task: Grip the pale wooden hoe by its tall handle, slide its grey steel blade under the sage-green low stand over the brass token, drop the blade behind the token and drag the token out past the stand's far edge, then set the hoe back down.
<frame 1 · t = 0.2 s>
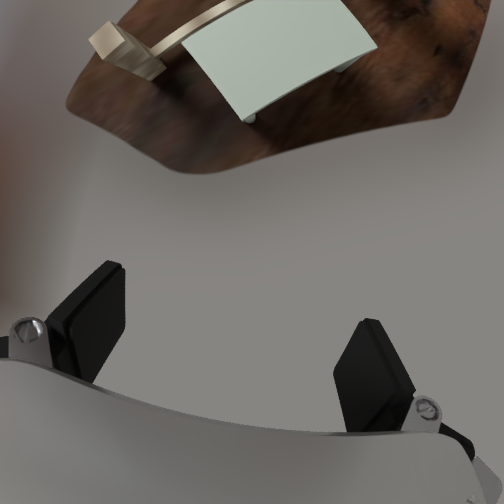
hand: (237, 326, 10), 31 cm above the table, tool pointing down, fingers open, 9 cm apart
hoe: (152, 66, 32), on the table
stand: (276, 64, 32), on the table
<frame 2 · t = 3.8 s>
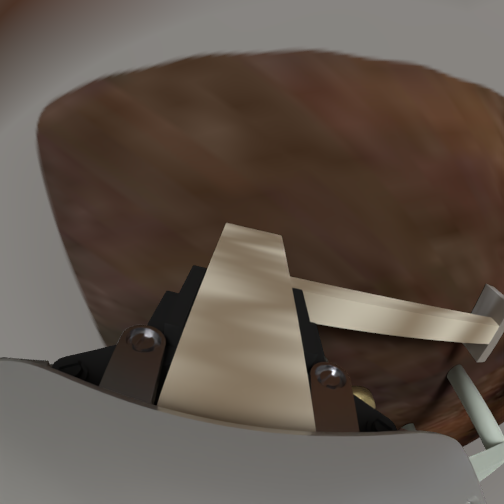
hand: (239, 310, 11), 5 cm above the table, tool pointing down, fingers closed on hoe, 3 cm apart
hoe: (245, 262, 16), on the table, touching gripper
token: (343, 402, 21), on the table
stand: (372, 405, 21), on the table
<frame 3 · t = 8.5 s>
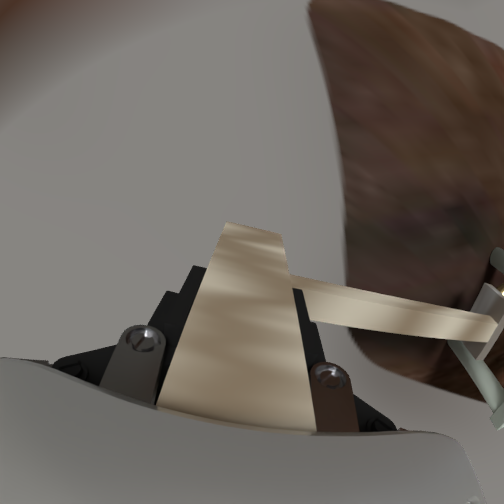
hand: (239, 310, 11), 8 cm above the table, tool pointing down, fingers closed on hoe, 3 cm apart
hoe: (245, 261, 16), point 3 cm above the table, touching gripper
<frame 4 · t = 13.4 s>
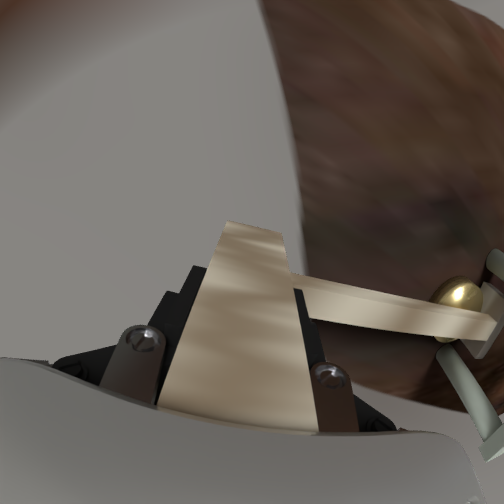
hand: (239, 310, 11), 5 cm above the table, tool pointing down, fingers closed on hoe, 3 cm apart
hoe: (246, 259, 16), on the table, touching gripper
token: (450, 304, 17), on the table
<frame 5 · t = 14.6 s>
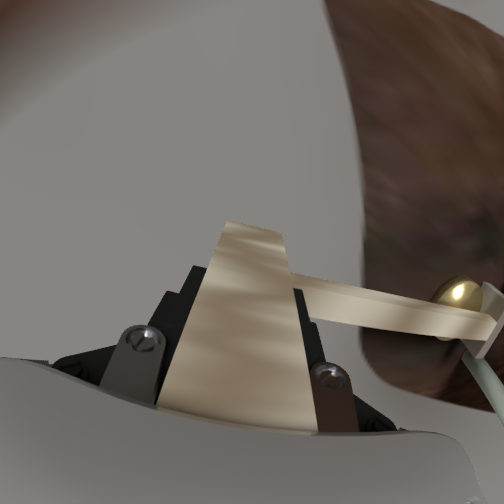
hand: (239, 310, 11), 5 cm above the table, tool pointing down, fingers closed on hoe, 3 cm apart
hoe: (246, 259, 16), on the table, touching gripper
token: (450, 303, 17), on the table
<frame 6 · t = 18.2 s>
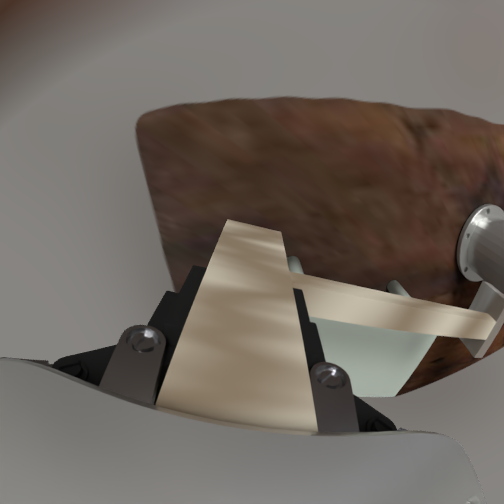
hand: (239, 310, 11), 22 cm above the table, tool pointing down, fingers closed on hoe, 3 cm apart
hoe: (246, 258, 16), point 17 cm above the table, touching gripper
stand: (334, 304, 37), on the table
when the fingers open (6 cm above the table, at t = 21.7 s): hoe stays where it is, on the table.
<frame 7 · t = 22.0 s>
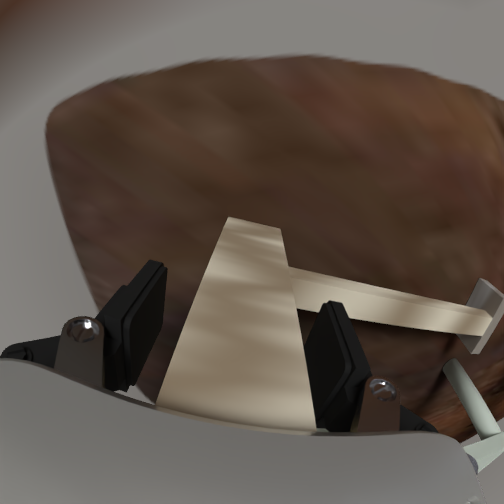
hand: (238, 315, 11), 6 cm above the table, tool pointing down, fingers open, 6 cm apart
hoe: (246, 254, 17), on the table
stand: (369, 397, 21), on the table
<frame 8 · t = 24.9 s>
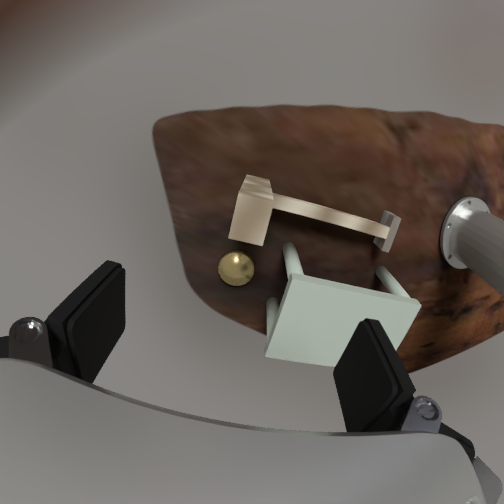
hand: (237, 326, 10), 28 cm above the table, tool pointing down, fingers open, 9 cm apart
hoe: (254, 191, 37), on the table
token: (236, 265, 41), on the table
stand: (327, 286, 41), on the table
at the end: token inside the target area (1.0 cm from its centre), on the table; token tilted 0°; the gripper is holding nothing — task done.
